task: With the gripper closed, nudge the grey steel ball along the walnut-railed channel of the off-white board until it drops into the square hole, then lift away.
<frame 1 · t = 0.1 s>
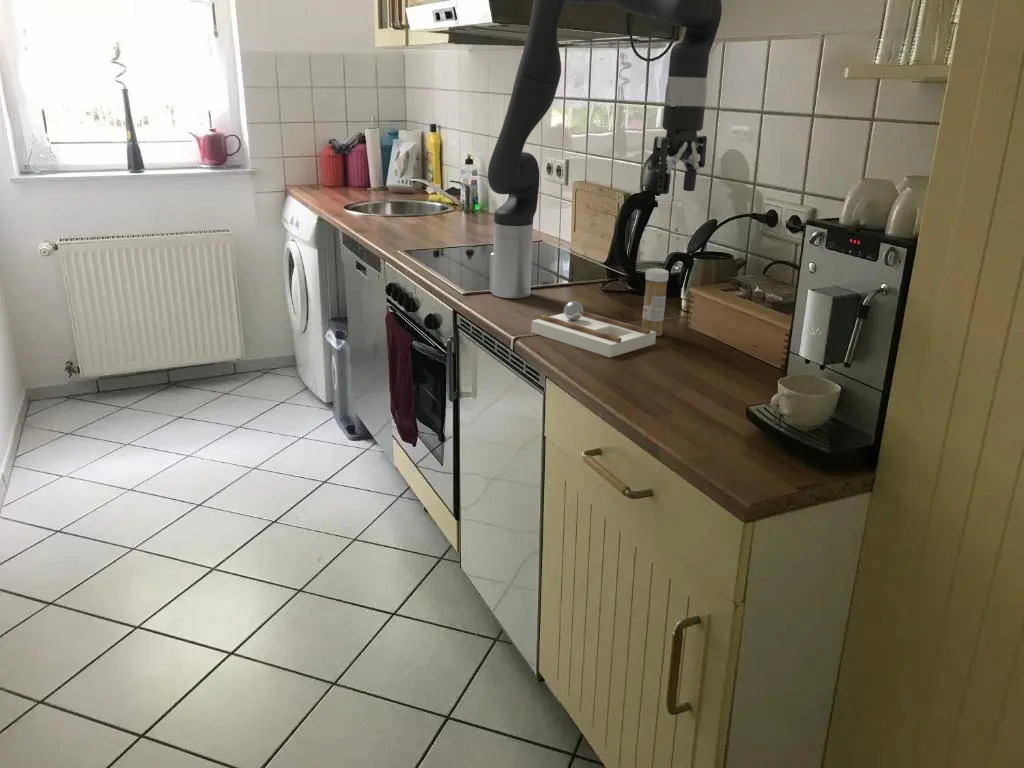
hand: (675, 192, 156), 29 cm above the worktop, fingers open, 8 cm apart
sprinkles bottle: (651, 334, 168), on the worktop
track board: (592, 338, 164), on the worktop
ball: (573, 310, 166), point 4 cm above the worktop, touching track board
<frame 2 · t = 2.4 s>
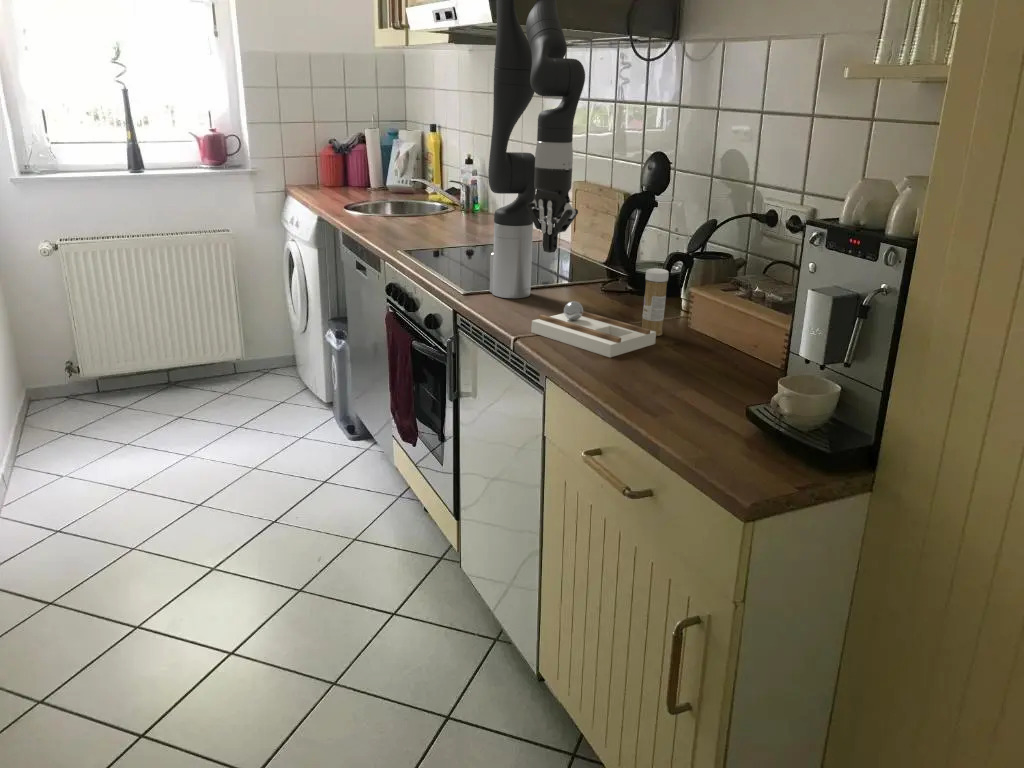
hand: (549, 251, 168), 16 cm above the worktop, fingers closed
nothing on the worktop moved.
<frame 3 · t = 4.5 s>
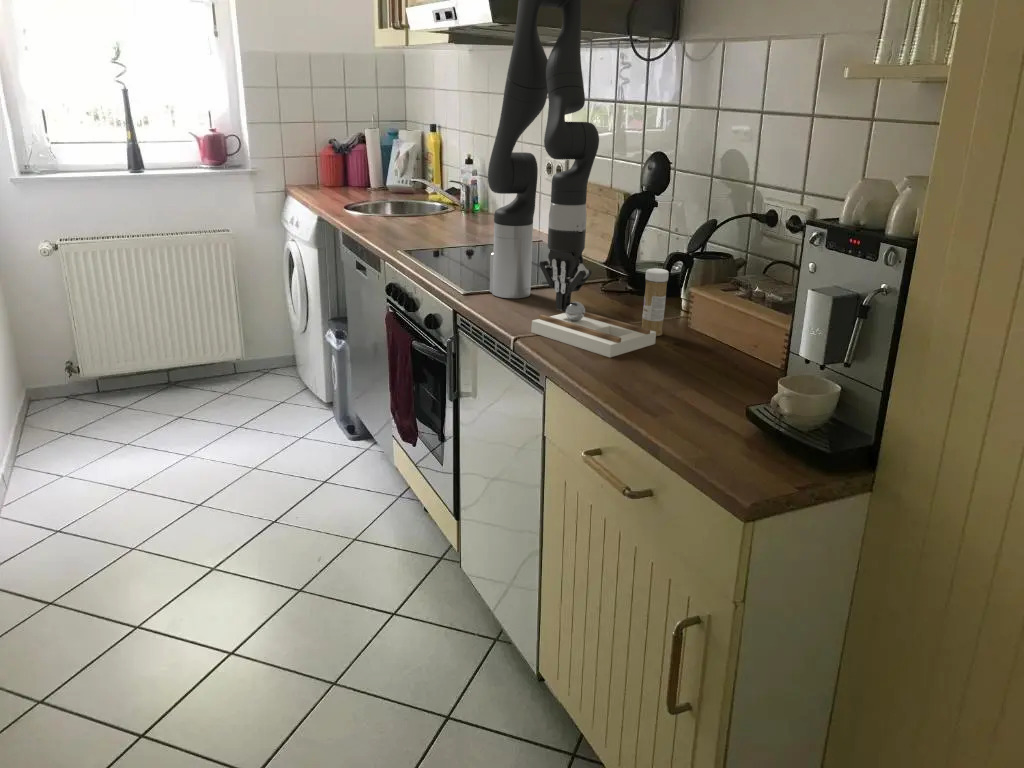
hand: (562, 309, 168), 4 cm above the worktop, fingers closed
ball: (575, 311, 166), point 4 cm above the worktop, touching gripper, track board
everything else where it was.
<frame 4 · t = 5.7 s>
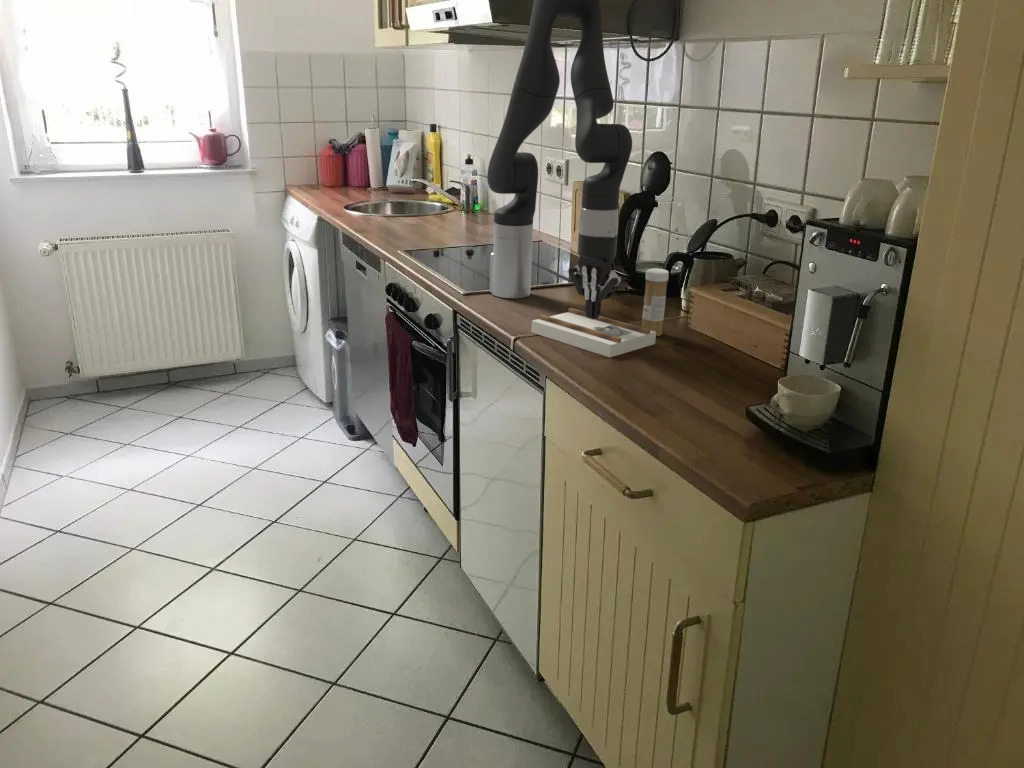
hand: (592, 318, 163), 4 cm above the worktop, fingers closed
ball: (612, 335, 160), point 2 cm above the worktop, tilted 119°
everything else where it was.
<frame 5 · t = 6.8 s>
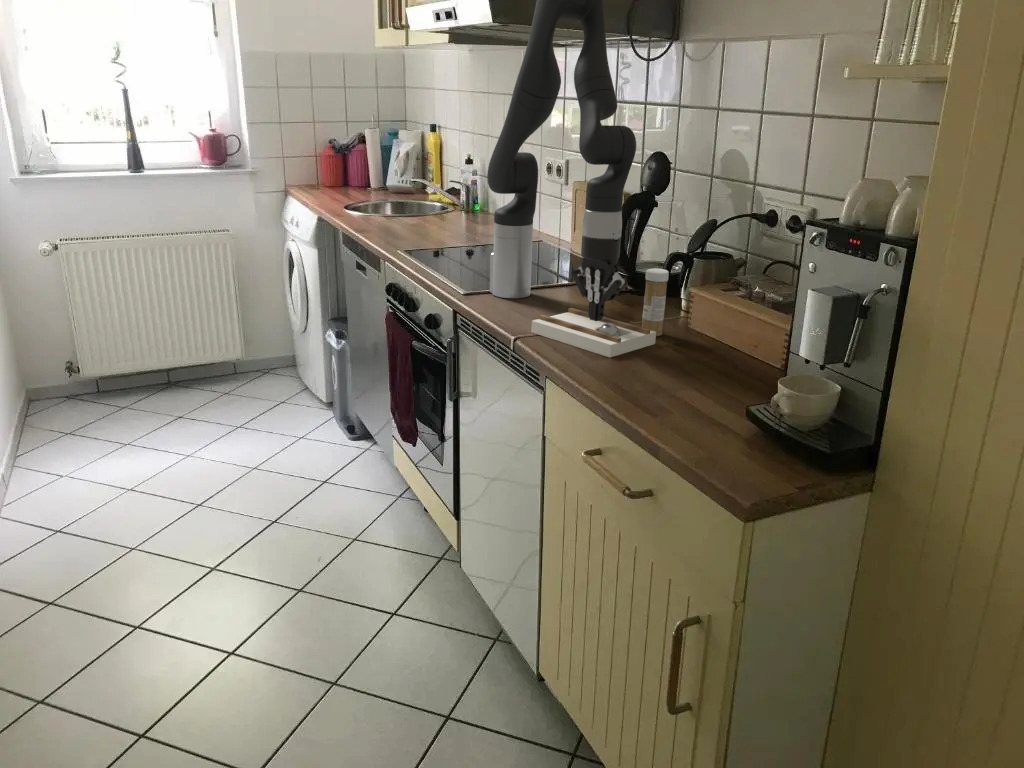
hand: (595, 319, 163), 4 cm above the worktop, fingers closed
ball: (608, 333, 161), point 2 cm above the worktop, tilted 101°
everything else where it was.
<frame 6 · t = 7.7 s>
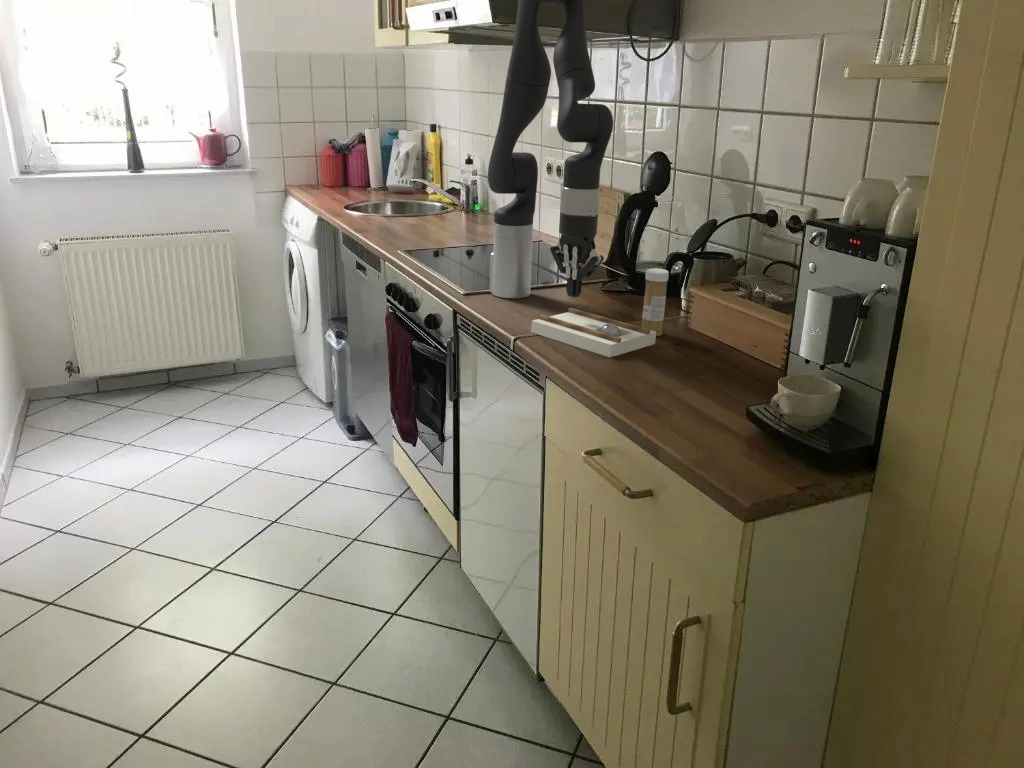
hand: (573, 296, 166), 8 cm above the worktop, fingers closed
ball: (609, 333, 161), point 2 cm above the worktop, tilted 110°
everything else where it was.
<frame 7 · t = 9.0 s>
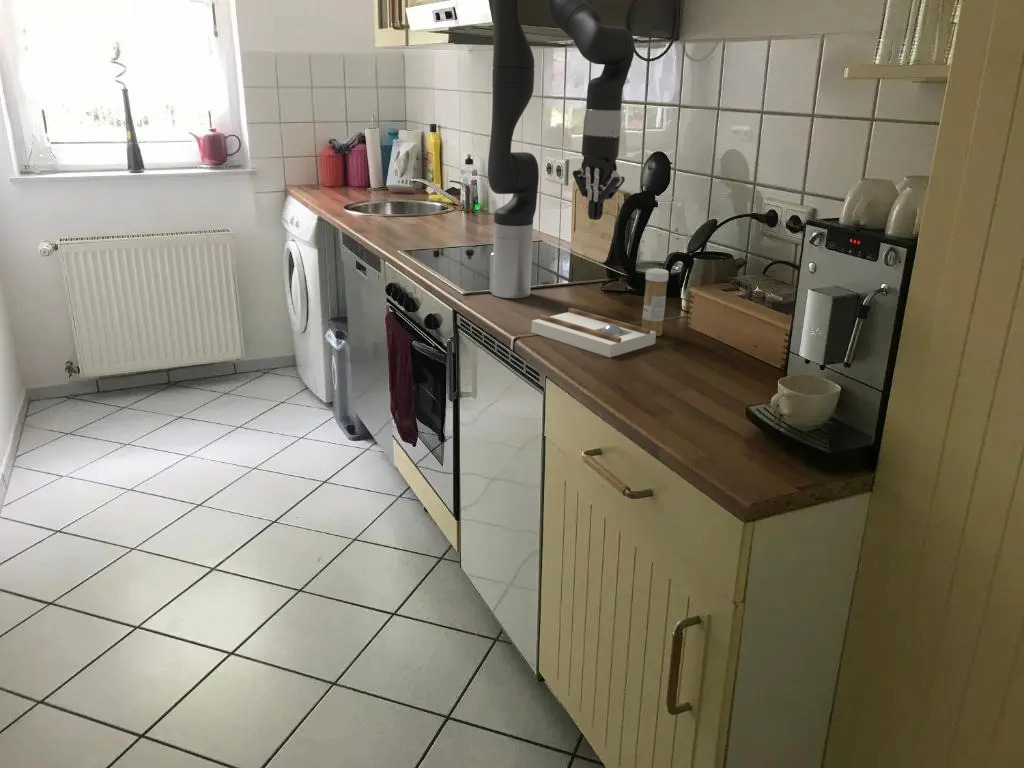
hand: (594, 219, 170), 22 cm above the worktop, fingers closed
ball: (611, 334, 160), point 2 cm above the worktop, tilted 123°
everything else where it was.
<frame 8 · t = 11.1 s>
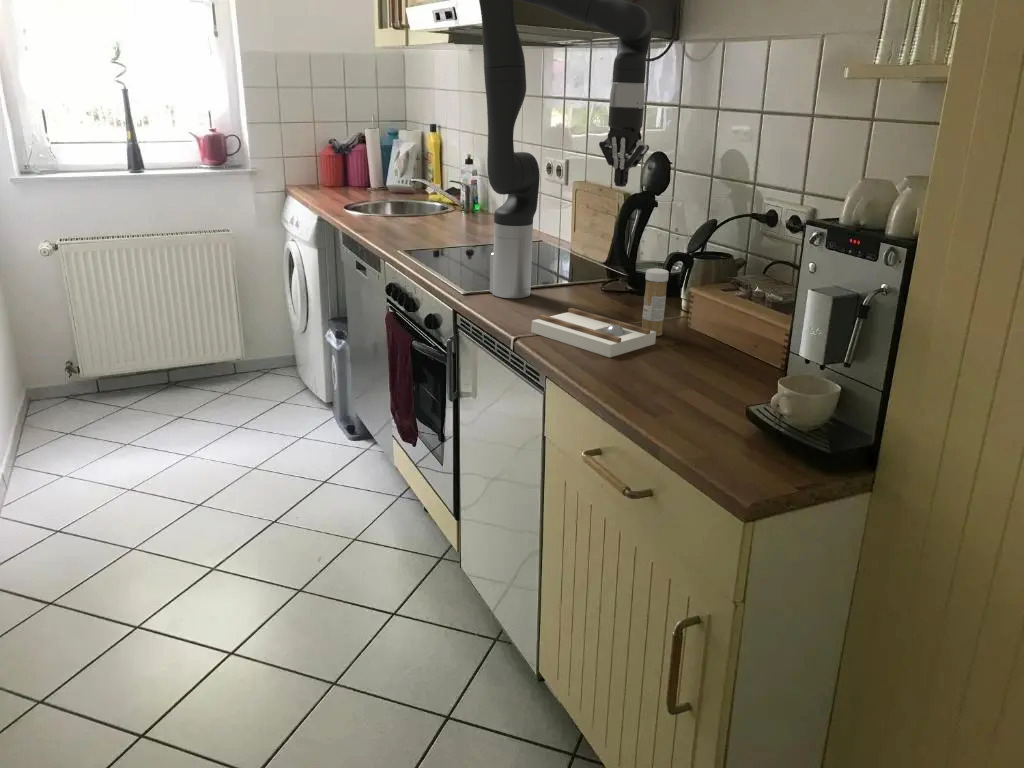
hand: (620, 186, 183), 27 cm above the worktop, fingers closed
ball: (614, 334, 160), point 2 cm above the worktop, tilted 144°
everything else where it was.
at the end: ball 0.6 cm from the target spot on the track board, point 2.0 cm above the track board's base; ball point 2.0 cm above the worktop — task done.
